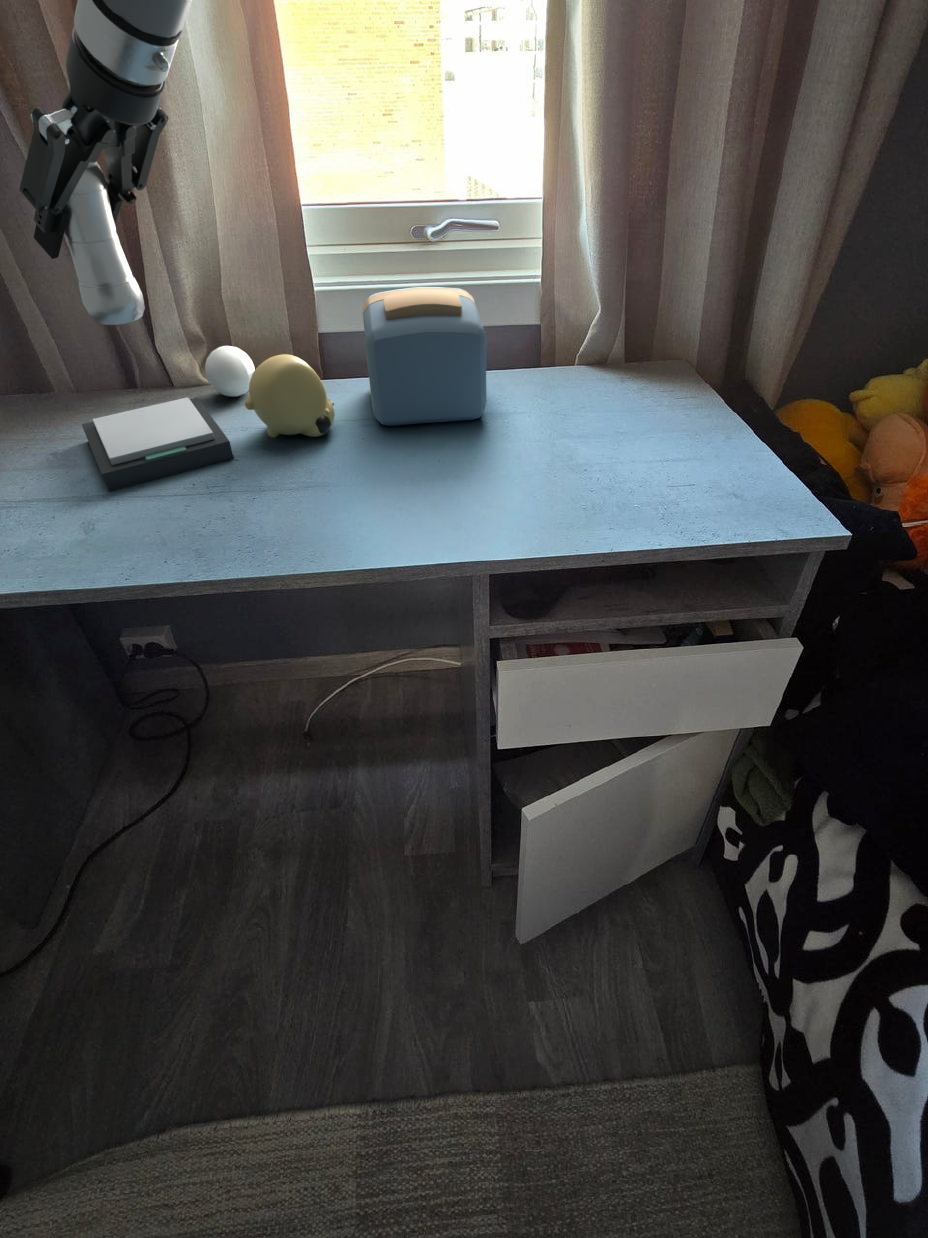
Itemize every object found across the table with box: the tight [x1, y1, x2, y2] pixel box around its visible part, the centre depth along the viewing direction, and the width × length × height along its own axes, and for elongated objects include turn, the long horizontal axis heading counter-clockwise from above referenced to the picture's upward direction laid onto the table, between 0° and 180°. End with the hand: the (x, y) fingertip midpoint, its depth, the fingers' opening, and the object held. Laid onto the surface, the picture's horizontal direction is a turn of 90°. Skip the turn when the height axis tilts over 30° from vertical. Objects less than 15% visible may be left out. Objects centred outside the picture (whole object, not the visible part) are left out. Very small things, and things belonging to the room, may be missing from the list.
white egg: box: [204, 345, 257, 398], centre depth 106 cm, size 10×7×7 cm
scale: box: [81, 396, 235, 492], centre depth 93 cm, size 16×16×4 cm
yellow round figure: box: [244, 353, 336, 438], centre depth 95 cm, size 10×12×11 cm
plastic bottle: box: [30, 111, 146, 326], centre depth 75 cm, size 6×7×20 cm
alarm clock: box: [362, 286, 488, 427], centre depth 99 cm, size 16×16×16 cm
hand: (72, 239), depth 77 cm, fingers closed on plastic bottle, 6 cm apart
